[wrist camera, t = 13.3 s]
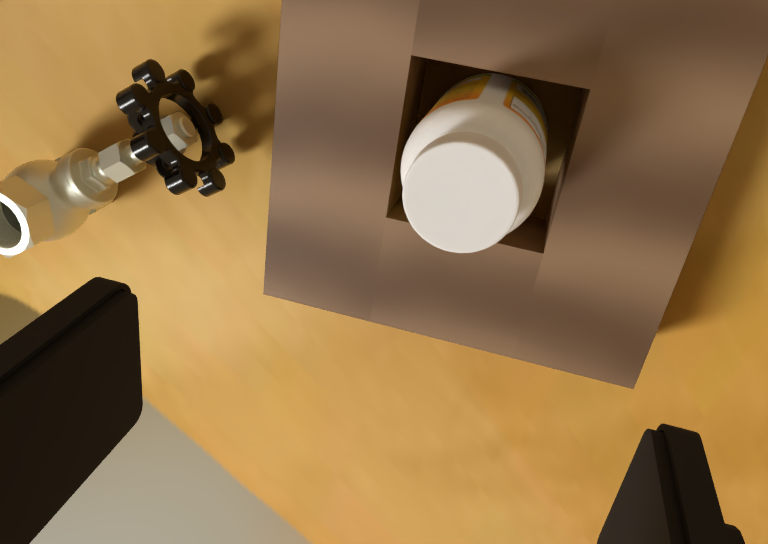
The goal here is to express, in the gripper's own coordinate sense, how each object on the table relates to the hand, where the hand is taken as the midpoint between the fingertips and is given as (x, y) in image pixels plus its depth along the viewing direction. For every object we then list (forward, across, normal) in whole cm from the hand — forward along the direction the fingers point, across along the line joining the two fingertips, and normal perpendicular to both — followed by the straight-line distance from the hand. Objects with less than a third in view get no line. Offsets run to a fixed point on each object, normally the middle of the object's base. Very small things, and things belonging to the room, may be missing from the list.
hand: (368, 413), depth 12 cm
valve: (+22, +18, +6) cm, 29 cm away
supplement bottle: (+22, 0, 0) cm, 22 cm away
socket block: (+21, 0, 0) cm, 21 cm away
